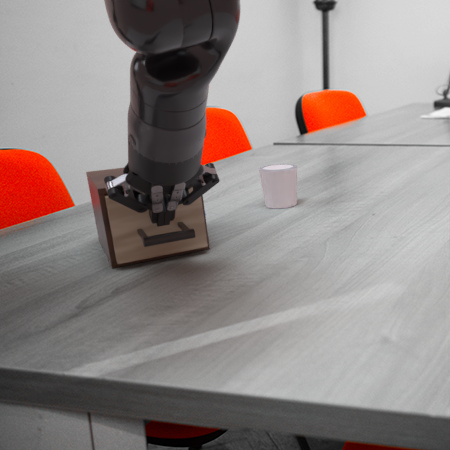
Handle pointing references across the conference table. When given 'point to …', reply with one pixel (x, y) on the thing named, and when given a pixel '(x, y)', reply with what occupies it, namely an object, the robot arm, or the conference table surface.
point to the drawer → (155, 231)
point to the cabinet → (102, 219)
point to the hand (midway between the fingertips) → (161, 220)
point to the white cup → (279, 185)
